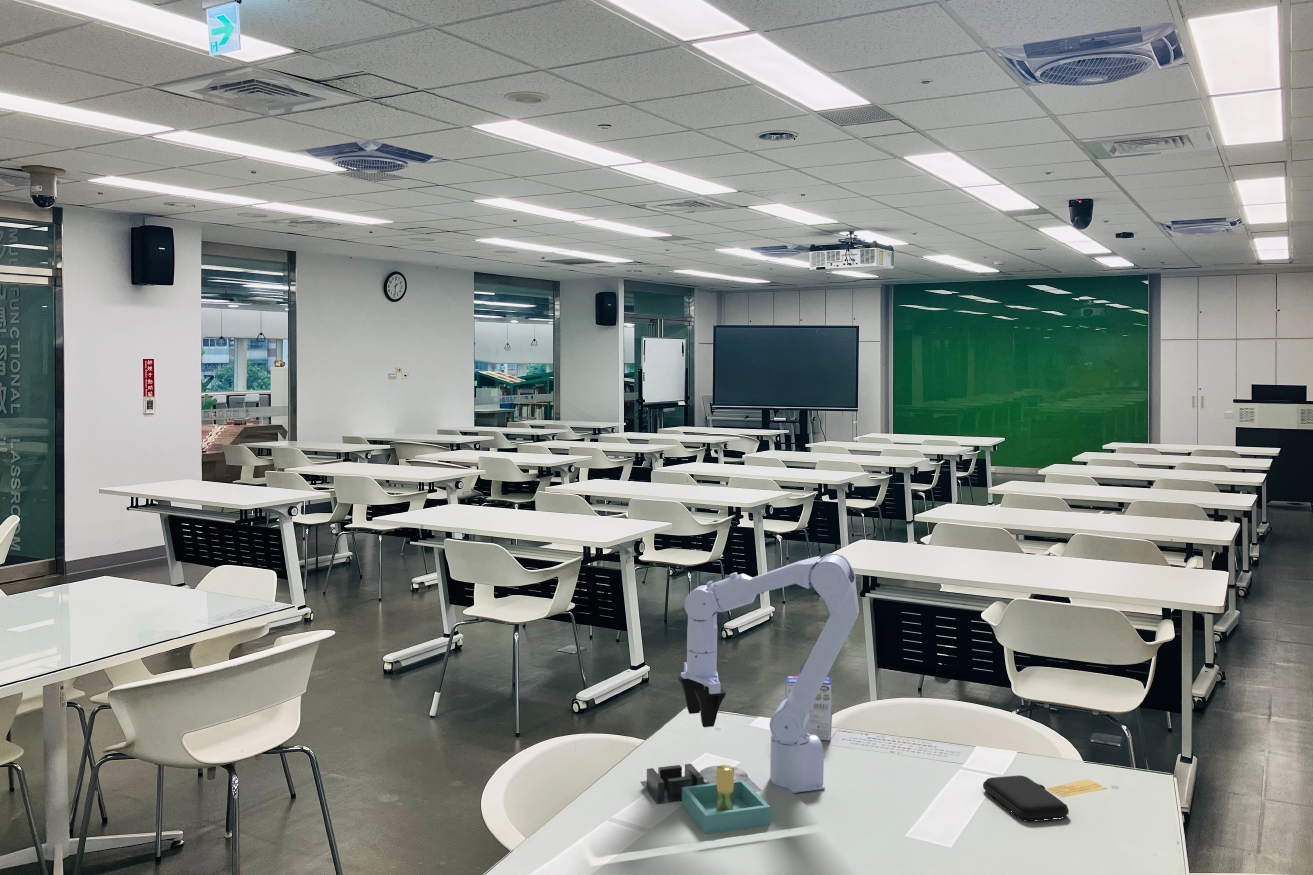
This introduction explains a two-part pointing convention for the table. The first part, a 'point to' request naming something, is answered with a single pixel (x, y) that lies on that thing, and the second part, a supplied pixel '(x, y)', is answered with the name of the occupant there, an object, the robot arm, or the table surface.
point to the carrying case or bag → (1025, 798)
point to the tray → (744, 814)
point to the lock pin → (724, 788)
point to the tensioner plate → (683, 781)
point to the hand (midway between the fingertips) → (701, 719)
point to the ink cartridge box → (817, 708)
